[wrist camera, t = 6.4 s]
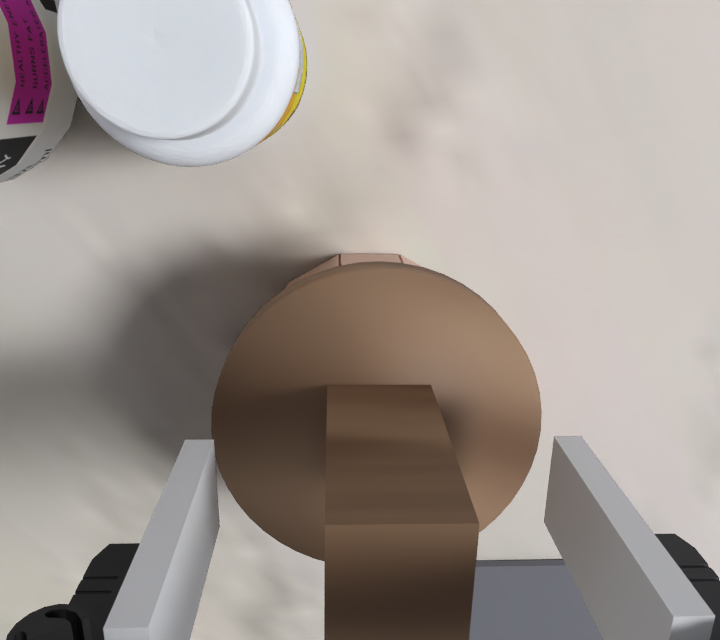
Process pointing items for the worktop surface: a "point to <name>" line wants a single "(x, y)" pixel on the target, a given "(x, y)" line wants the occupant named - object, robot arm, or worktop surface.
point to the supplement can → (31, 86)
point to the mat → (528, 602)
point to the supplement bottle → (185, 73)
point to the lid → (379, 439)
